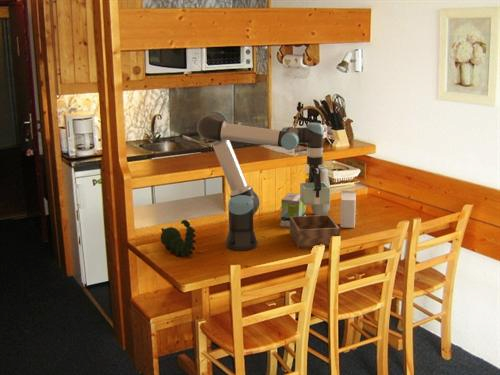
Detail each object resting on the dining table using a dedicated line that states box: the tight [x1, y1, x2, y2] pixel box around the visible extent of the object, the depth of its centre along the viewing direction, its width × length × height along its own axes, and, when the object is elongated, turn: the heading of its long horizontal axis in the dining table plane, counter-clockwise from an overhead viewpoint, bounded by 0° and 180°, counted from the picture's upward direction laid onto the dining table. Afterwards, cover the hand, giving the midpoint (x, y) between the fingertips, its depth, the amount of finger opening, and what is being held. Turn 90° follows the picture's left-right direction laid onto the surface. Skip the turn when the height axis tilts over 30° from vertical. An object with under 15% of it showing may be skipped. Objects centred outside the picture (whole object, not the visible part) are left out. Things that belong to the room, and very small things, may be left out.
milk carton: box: [339, 190, 357, 229], centre depth 342 cm, size 7×7×19 cm
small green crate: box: [299, 182, 331, 206], centre depth 317 cm, size 12×11×8 cm
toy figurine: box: [160, 219, 197, 258], centre depth 306 cm, size 9×19×25 cm
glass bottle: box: [310, 165, 332, 215], centre depth 359 cm, size 10×10×28 cm
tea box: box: [280, 192, 307, 228], centre depth 348 cm, size 15×10×15 cm, turn 161°
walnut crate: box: [289, 214, 341, 249], centre depth 322 cm, size 20×22×9 cm
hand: (314, 200), depth 318 cm, fingers closed on small green crate, 11 cm apart
